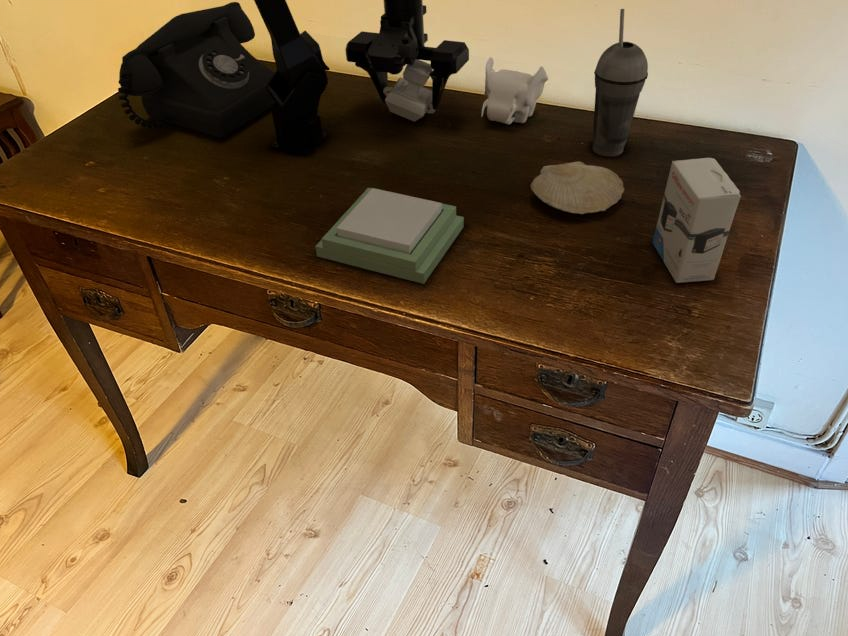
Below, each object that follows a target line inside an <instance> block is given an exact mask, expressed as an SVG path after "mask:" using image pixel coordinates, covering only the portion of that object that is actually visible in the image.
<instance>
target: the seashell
mask: <svg viewBox="0 0 848 636" xmlns="http://www.w3.org/2000/svg"><path fill="white" fill-rule="evenodd" d="M530 189H531V190H532V193H534V194H535V196H536V197H537V198H538V199H540V200H541V201H542V202H543V203H545V204H547V205H548V206H550V207H552V208H554V209H556V210H561V211H563V212H567V213H571V214H579V215H584V214H595V213H598V212H605V211H606V210H607V209H610V207H612V206H613V205H615V204H617V203H618V202H619V200H621V199H622V195H623V193H624V192H625V187H624V182H623V179H621V178H620V177H619V175H618V174H617V173H615V172H614V171H613V170H611V169H610V168H607V167H605V166H600V165H599V166H598V165H592V164H591V165H589V164H588V165H587V164H585V163H584V162H583V161H580V160H579V161H573V162H566V163H559V164H550V165H544V166H543V167H542V168H541V170H540V174H539V175H537V176H535V178H534V179H533V181H531V183H530Z"/></svg>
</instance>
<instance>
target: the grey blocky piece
mask: <svg viewBox="0 0 848 636" xmlns="http://www.w3.org/2000/svg"><path fill="white" fill-rule="evenodd" d="M432 71H433V69H432V68H431V63H430V62H426V61H424V60H417V59H416V60H415V62H414V64H413V65H408V64H406V65H405V68H404V69H403V73H402V77H399V78H397V81H395V84H394V85H393V86H389V85H388V86H387V87H386V88H384V90H383V93H384V94H385V95H386V96H387V97H386V99H385V104H386V106H387V108H388V110H389V112H390V113H393V114H395V115H397V116H400V117H402V118H404V119H406V120H410V121H412V122H414V123H415V122H416V121H418V120H420V119H422V118H423V117H424V116H425V114H429V115H432V114H434V113H435V112H436V110H433V104H432V89H429V88H426V84H427V82H428V80H429V79H430V78H431V77H430V75H429V74H430V73H431V72H432Z"/></svg>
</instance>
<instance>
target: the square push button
mask: <svg viewBox="0 0 848 636" xmlns="http://www.w3.org/2000/svg"><path fill="white" fill-rule="evenodd" d="M371 188H372V189H371V190H370V191H369V192H368V194H367V195H366V196H365V197H364V198H363V199H362V200H361V201H360V202H359V204H358V205H357V206H356V207H355V208H354V209H353V210H352V211H351V212H350V214H349V215H348V216H347V217H346V218H345V219H344V220H343V221H342V222H341V223H340V225H339V226H338V227H337V236H338V237H341V238H345V239H349V240H353V241H357V242H362V243H366V244H370V245H374V246H378V247H382V248H386V249H390V250H394V251H398V252H402V253H406V254H411V253H412V252H413V250H414V249H415V248H416V246H417V245H418V244H419V242H420V241H421V240H422V238H423V237H424V236H425V234H426V233H427V232H428V230H429V229H430V228H431V226H432V225H433V224H434V222H435V221H436V220H437V218H438V217H439V216H440V214H441V213H442V204H443V203H442V202H438V201H434V200H429V199H425V198H420V197H415V196H411V195H406V194H402V193H398V192H394V191H393V192H392V191H388V190H383V189H379V188H376V187H375V188H374V187H371Z"/></svg>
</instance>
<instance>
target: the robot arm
mask: <svg viewBox="0 0 848 636" xmlns="http://www.w3.org/2000/svg"><path fill="white" fill-rule="evenodd" d="M253 1H254V4H255V5H256V8H257V10H258V12H259V14H260V16H261V19H262V21H263V23H264V25H265V28H266V30H267V33H268V34H269V37H270V39H271V40H270V41H271V50H272V56H273V59H274V64H275V67H276V70H275V71H274V72H275V73H274V74H273V76H272V77H271V79H270V80H269V82H268V83H267V85H266V89H267V91H268V93H269V95H270V96H271V98H272V99H273V100H274V101H275V102H276V103H275V104H273V105H272V106H271V107H270V109H271V114H272V118H273V119H272V120H273V126H274V132H275V137H276V140H275V141H274V142H272V143H271V148H272V149H274V150H279V151H283V152H289V153H292V154H297V155H302V156H307V155H309V154H311V152H312V151H313V150H314V149H316V148H317V146H319V145H320V144H321V143H322V142H323V141H324V140H325V139H326V138H327V134H326V133H325V132H323V127H322V118H321V114H319V113H318V112H319V111H318V109H319V105H320V101H321V96H323V93H324V92H325V91H326V88H327V86H328V84H329V78H328V74H327V72H326V71H330V67H329V66H328V65H327V64H326V62H325V61H324V58H323V55H322V50H321V47H320V44H319V43H318V42H317V40H316V39H314V37H313V36H312V35H311V34H310V33H309V32H307V30H303V31H302V32H300V31H299V29H298V26H297V23H296V21H295V19H294V16H293V13H292V11H291V9H290V7H289V5H288V3H287V0H253ZM423 3H424V2H423V0H383V11H384V12H383V14H382V15H380V20H379V23H380V27H379V32H372V31H363V30H362V31H360V32H359V33H357V34H356V35H355V36H354V37H353V38H351V39H350V40H349V41H348V42H347V43H346V46H345V58H346V61H347V62H348V63H354V65H355V67H356V68H361V69H362V70H363V71H364V72H366V73H367V74H368V76H369V77H370V79H371V81H372V83H373V85H374V87H375V90H376V91H377V93H378V96H379V98H380V100H381V102H382V103H383V104H386V102H385V99H386V97H387V96H386V95H385V94H384V93H383V90H384V88H386V87H387V86H388V87H389V76H388V74H390V75H395V76H396V75H399V74H401V72H402V71H404V67H406V66H407V64H408V65H413V64H414V62H415V60H416V59H417V60H421V61H425V62H426V61H427V62H430V64H431V68H432V69H433V70H432V72H431V73H430V74H429V75H430V77H429V78H430V79H431V81H432V83H431V84H432V85H431V88H432V89H431V90H432V102H431V104H432V105H433V110H435V111H436V110H437V109H438V108H439V105H440V102H441V99H442V98H443V94H444V92H445V90H446V89H445V88H446V86H447V83H448V80H449V78H450V77H451V76H452V75H456V74H457V73H458V72H460V70H461V69H462V68H463V67H464V66H465V65H466V64H467V63H468V62H469V61H470V48H469V47H468V45H467V44H466V42H465V41H455V40H447V39H443V41H441V42H440V43H439V44H438V45H437V46H436V47H432V46H426V43H427V42H428V41H429V38H428V37H429V36H428V33H425V27H424V26H425V25H424V16H425V15H426V14H427V5H425V4H423Z"/></svg>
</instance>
